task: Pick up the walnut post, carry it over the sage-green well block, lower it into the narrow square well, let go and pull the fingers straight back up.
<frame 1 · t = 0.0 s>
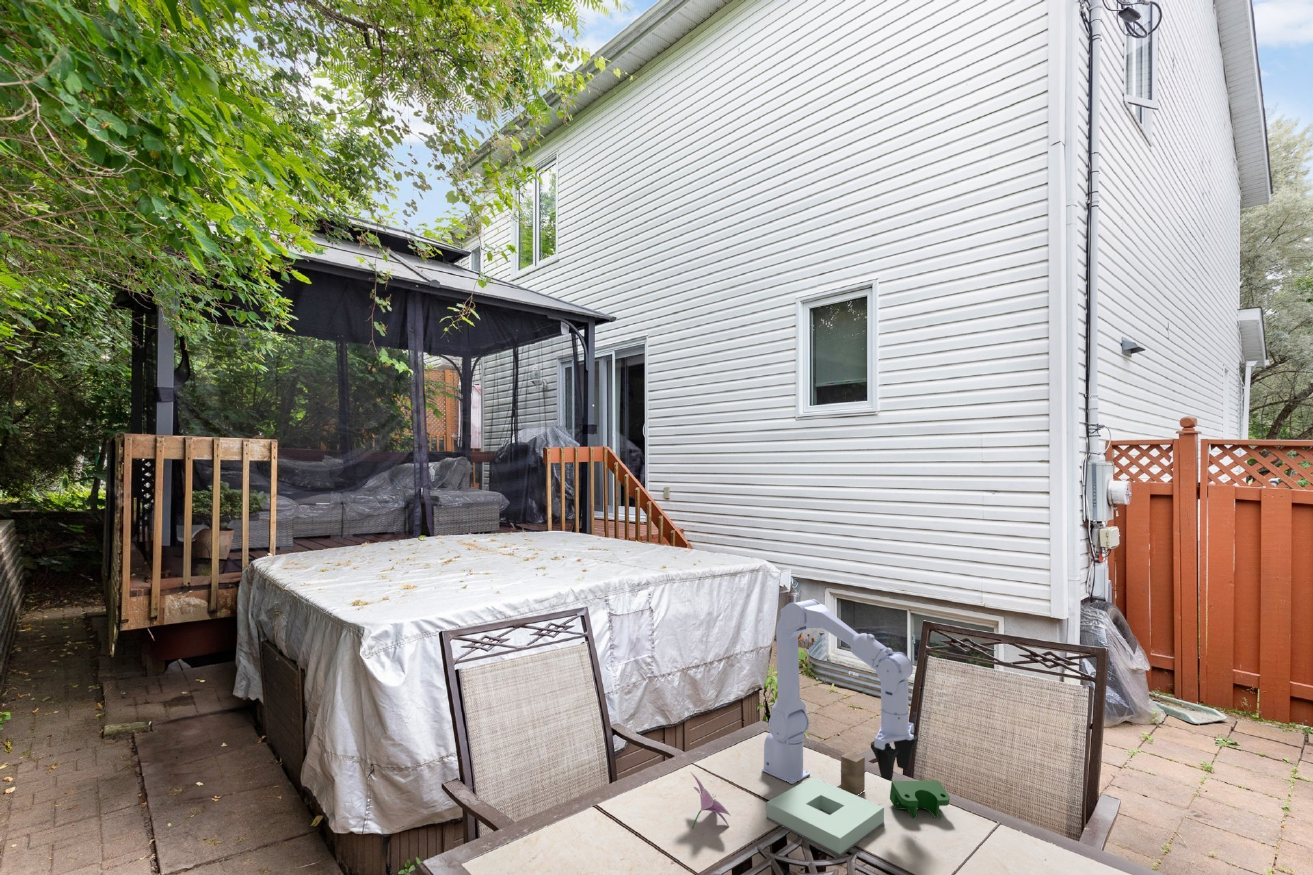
hand: (894, 773, 137), 10 cm above the table, tool pointing down, fingers open, 7 cm apart
well block: (825, 821, 135), on the table
lily: (708, 824, 133), on the table
clamp: (920, 813, 140), on the table
post: (852, 791, 149), on the table
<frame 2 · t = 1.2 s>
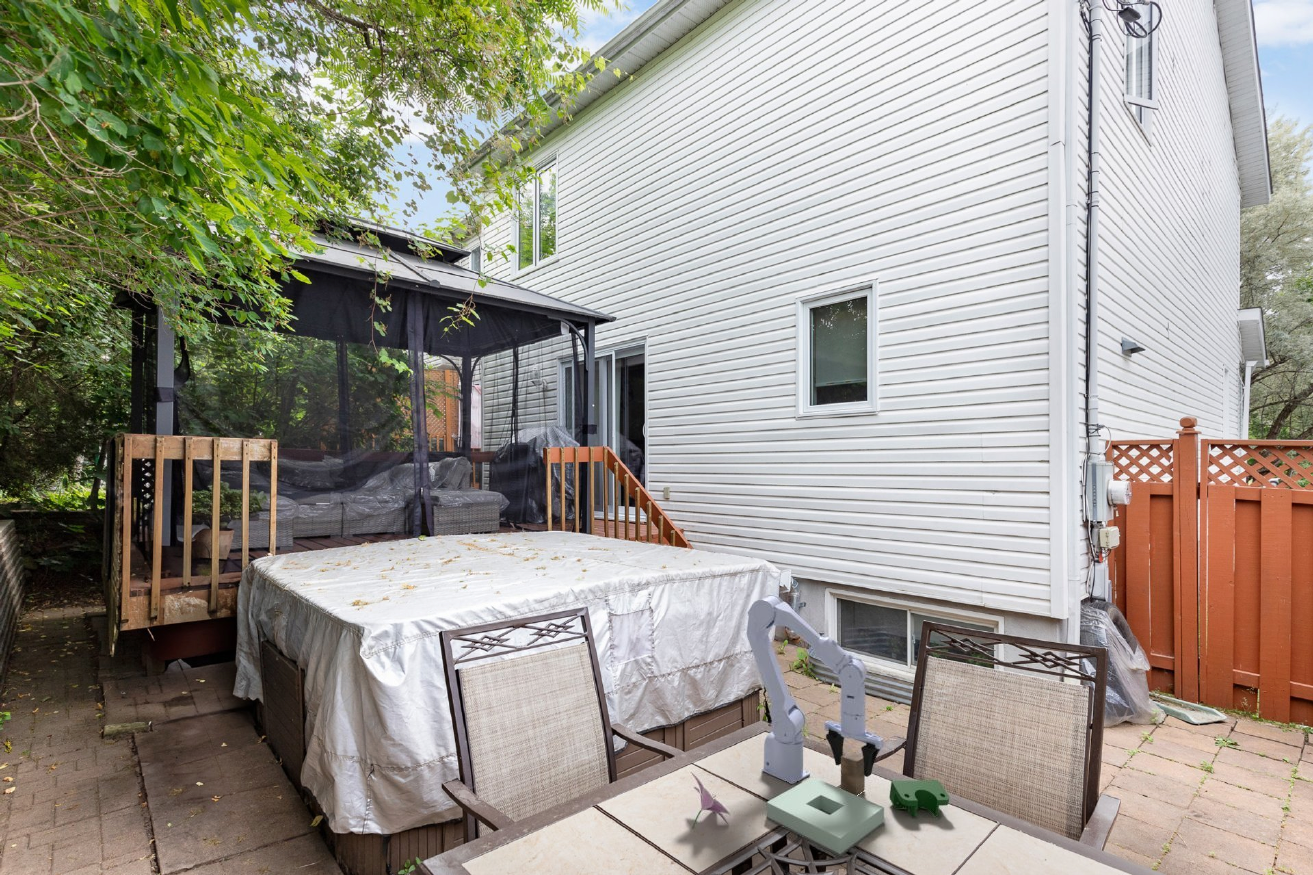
hand: (853, 769, 149), 5 cm above the table, tool pointing down, fingers open, 7 cm apart
nothing on the table moved.
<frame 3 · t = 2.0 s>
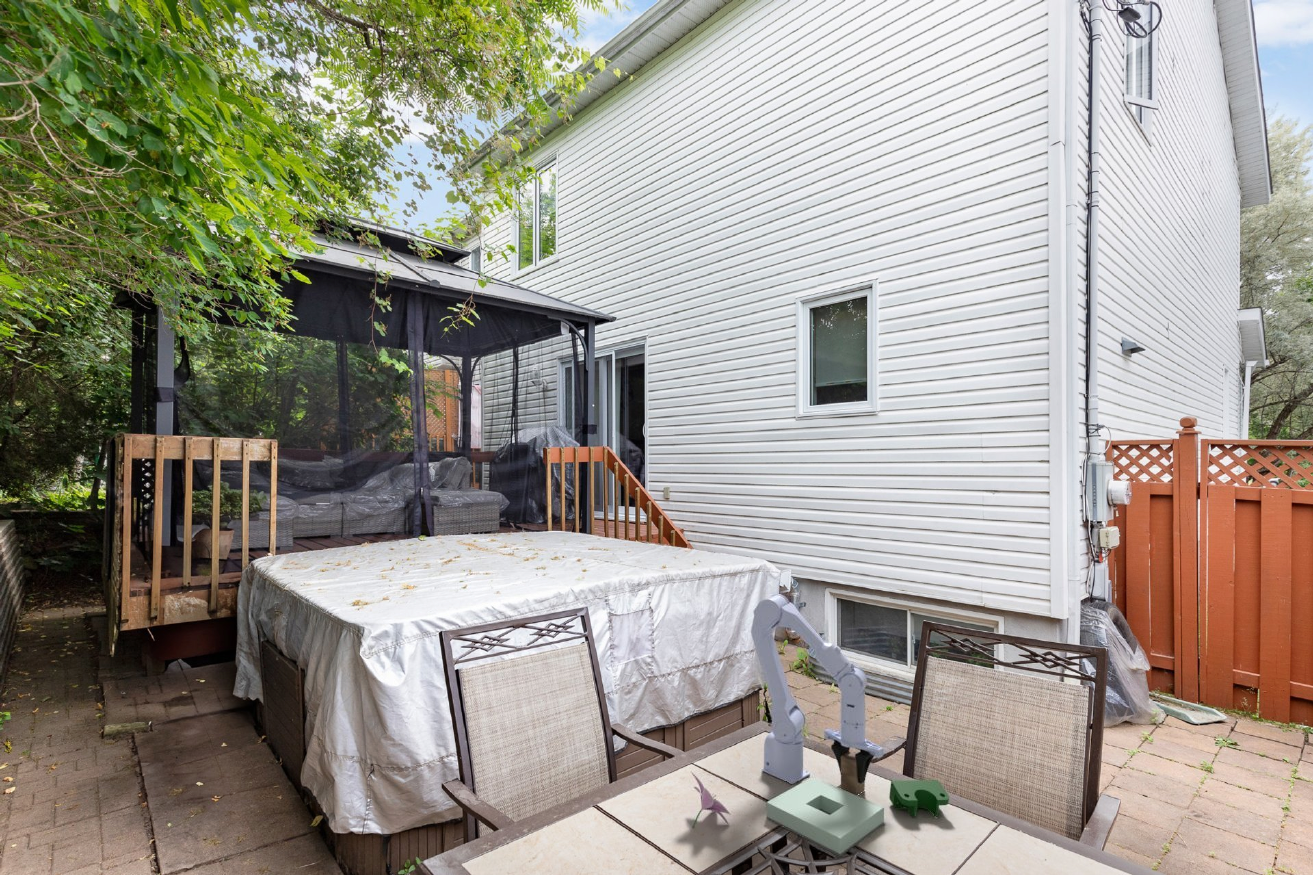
hand: (852, 778, 149), 3 cm above the table, tool pointing down, fingers closed on post, 4 cm apart
post: (852, 790, 149), on the table, touching gripper
everything else where it was.
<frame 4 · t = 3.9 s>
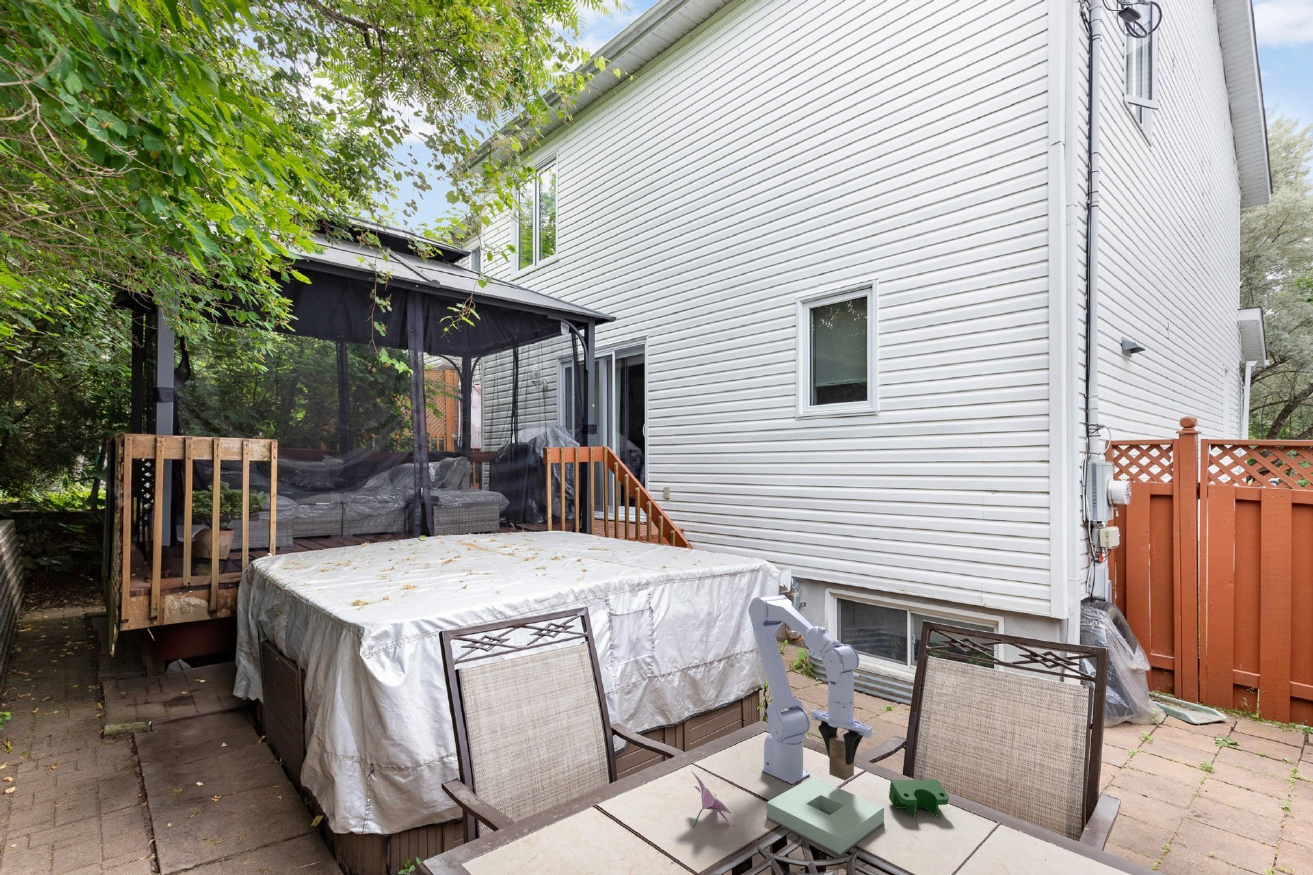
hand: (840, 760, 143), 10 cm above the table, tool pointing down, fingers closed on post, 4 cm apart
post: (841, 774, 143), point 7 cm above the table, touching gripper
everything else where it was.
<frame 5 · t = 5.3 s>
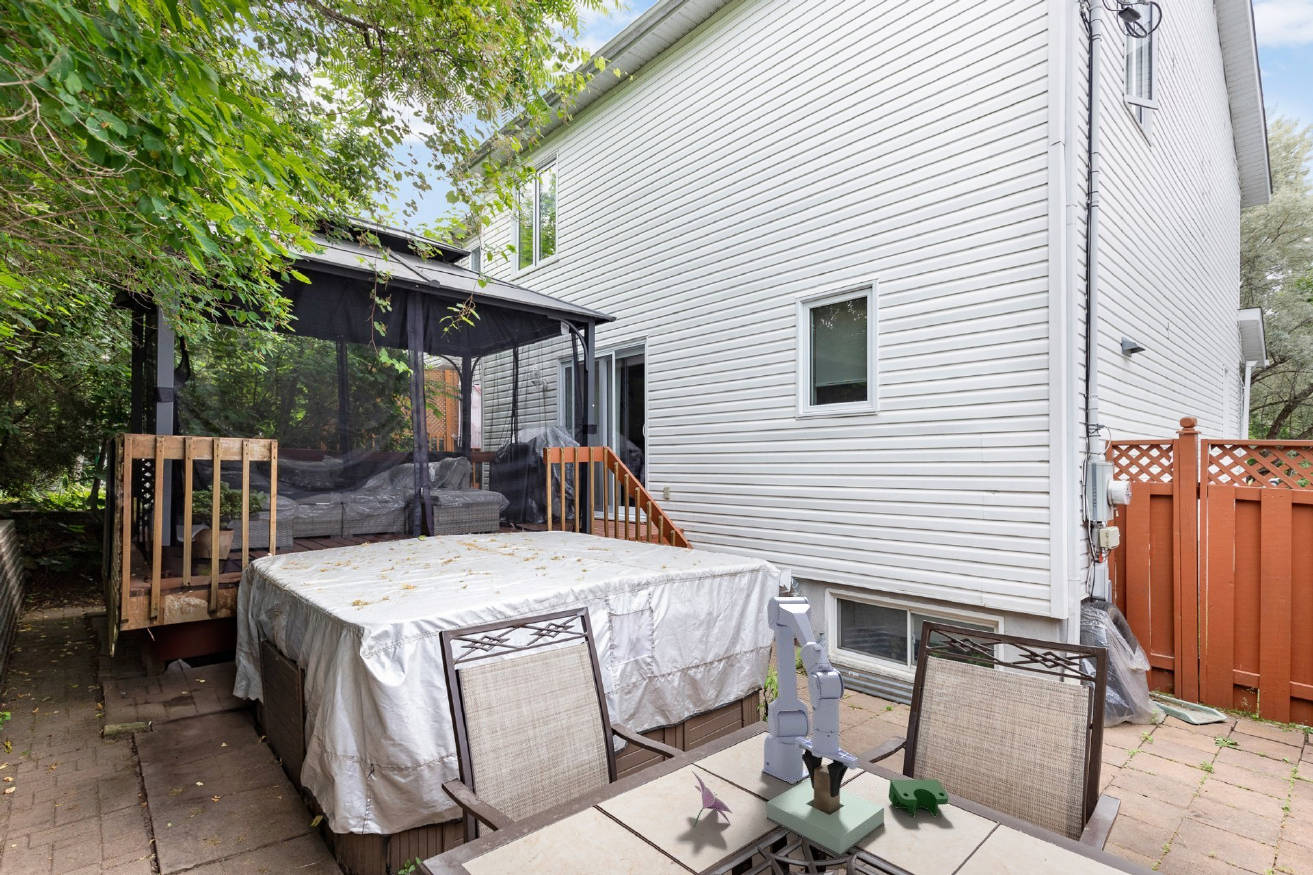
hand: (825, 791, 136), 6 cm above the table, tool pointing down, fingers closed on post, 4 cm apart
post: (826, 807, 136), point 3 cm above the table, touching gripper
everything else where it was.
when the fingers open (5 cm above the table, at t = 6.1 s): post stays where it is, resting on well block.
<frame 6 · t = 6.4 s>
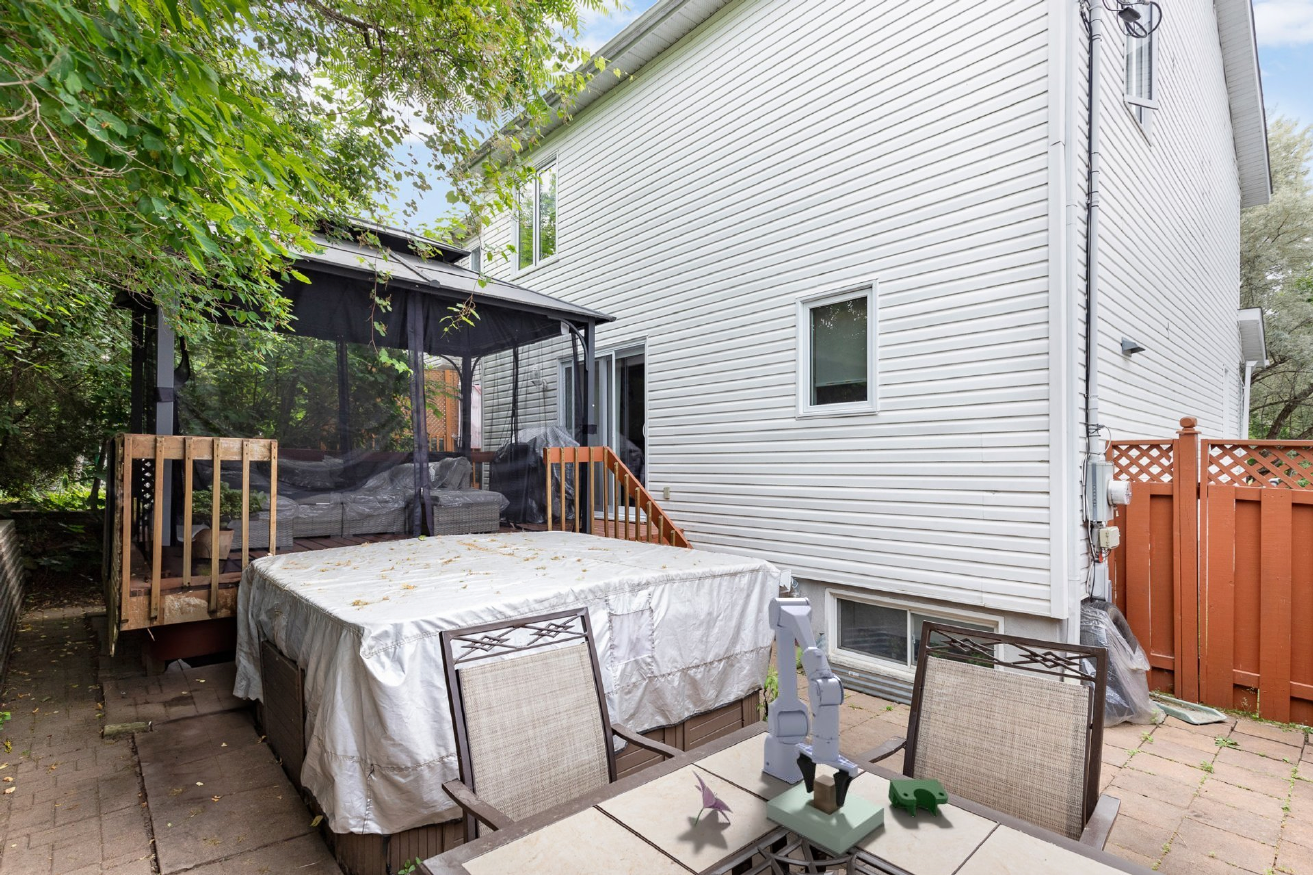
hand: (825, 798, 135), 5 cm above the table, tool pointing down, fingers open, 7 cm apart
post: (826, 818, 136), resting on well block
everything else where it was.
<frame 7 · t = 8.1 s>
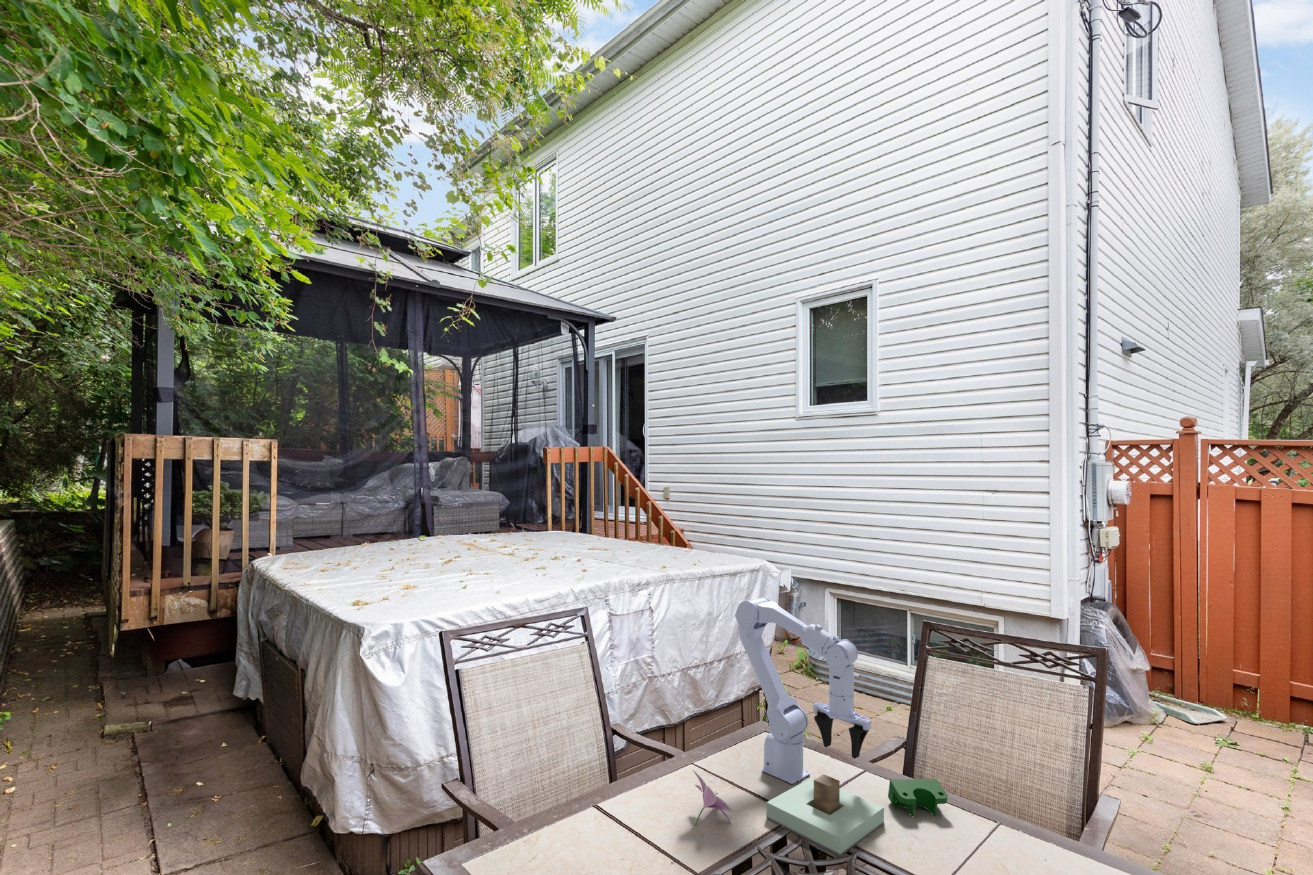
hand: (841, 751, 148), 10 cm above the table, tool pointing down, fingers open, 7 cm apart
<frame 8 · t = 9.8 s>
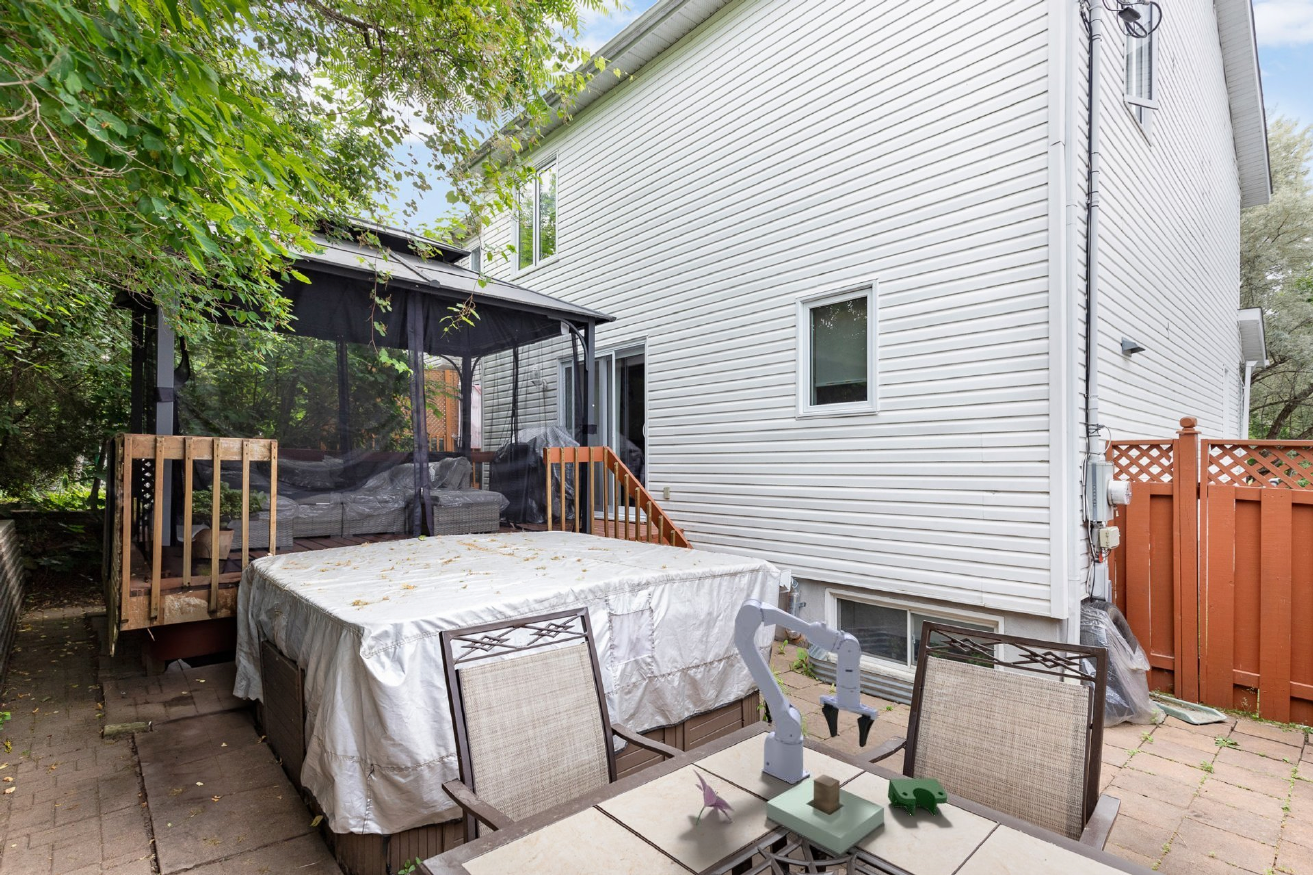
hand: (848, 741, 154), 10 cm above the table, tool pointing down, fingers open, 7 cm apart
at the end: post 0.6 cm off-centre on the well block, point 0.5 cm above the well block's base; post tilted 0°; the gripper is holding nothing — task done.
